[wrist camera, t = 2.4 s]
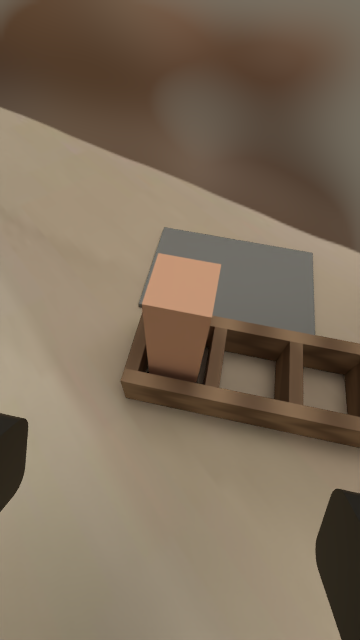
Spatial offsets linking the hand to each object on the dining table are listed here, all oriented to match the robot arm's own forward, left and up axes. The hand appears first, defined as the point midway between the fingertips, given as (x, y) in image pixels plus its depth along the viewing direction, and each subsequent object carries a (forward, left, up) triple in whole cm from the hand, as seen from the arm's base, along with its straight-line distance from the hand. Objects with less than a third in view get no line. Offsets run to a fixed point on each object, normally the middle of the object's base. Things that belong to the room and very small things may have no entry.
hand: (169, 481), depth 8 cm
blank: (+2, -12, -21) cm, 25 cm away
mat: (-3, -25, -21) cm, 33 cm away
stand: (-6, -12, -21) cm, 25 cm away
